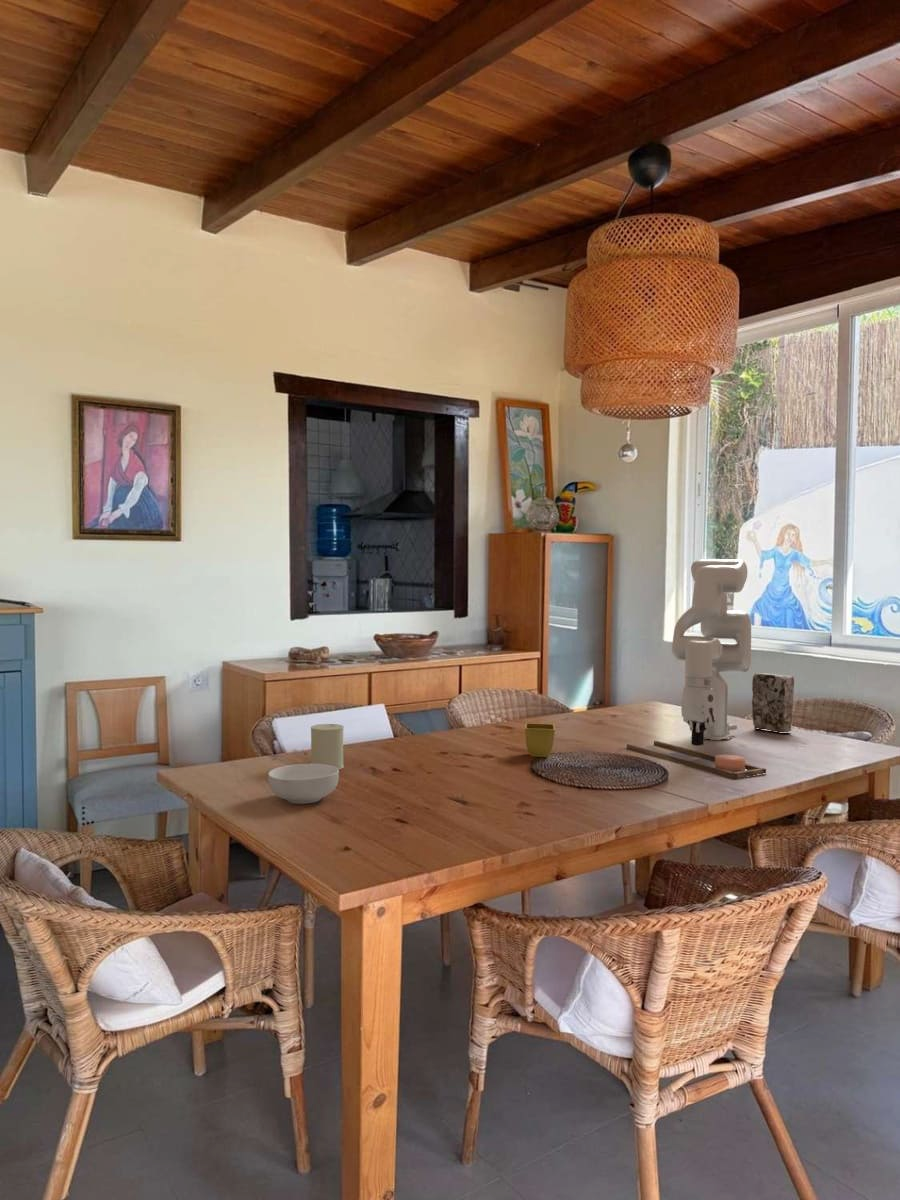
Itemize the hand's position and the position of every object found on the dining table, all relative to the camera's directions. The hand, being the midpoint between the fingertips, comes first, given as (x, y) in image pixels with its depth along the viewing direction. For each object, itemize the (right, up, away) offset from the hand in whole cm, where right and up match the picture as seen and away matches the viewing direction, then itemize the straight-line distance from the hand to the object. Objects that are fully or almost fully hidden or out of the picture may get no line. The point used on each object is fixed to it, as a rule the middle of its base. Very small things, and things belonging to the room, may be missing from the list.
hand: (697, 744), depth 258 cm
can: (-107, -5, -11) cm, 107 cm away
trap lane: (-1, -5, +1) cm, 5 cm away
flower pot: (-45, -5, +7) cm, 46 cm away
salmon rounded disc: (+6, -5, -12) cm, 14 cm away
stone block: (+39, -4, +48) cm, 62 cm away
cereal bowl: (-108, -6, -44) cm, 116 cm away
